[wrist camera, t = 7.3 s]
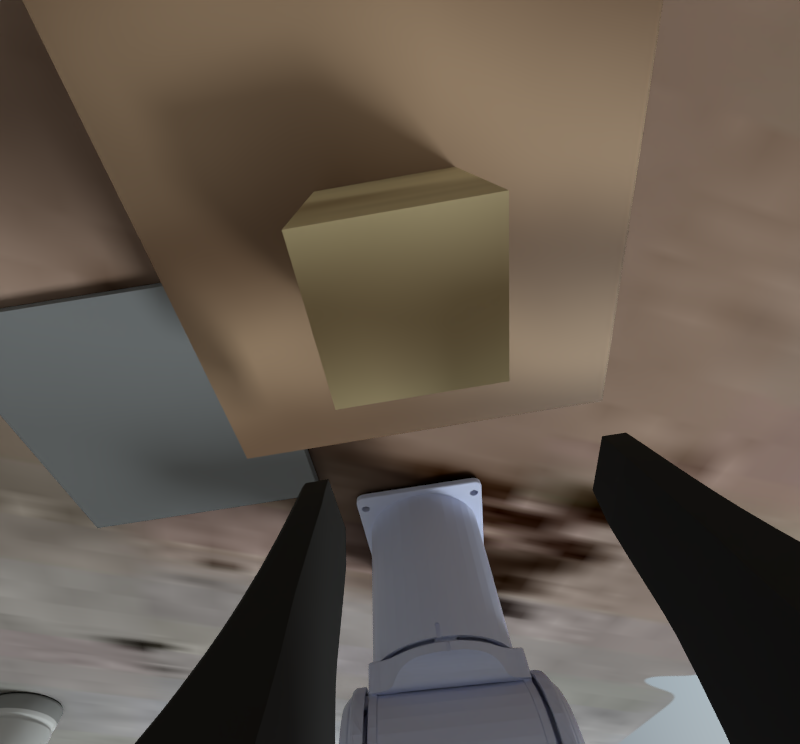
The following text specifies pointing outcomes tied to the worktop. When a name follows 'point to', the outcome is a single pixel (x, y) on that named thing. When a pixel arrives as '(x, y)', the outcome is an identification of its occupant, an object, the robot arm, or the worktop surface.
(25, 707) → the travel mug
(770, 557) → the robot arm
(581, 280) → the lid
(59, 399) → the mat
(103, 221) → the worktop surface
